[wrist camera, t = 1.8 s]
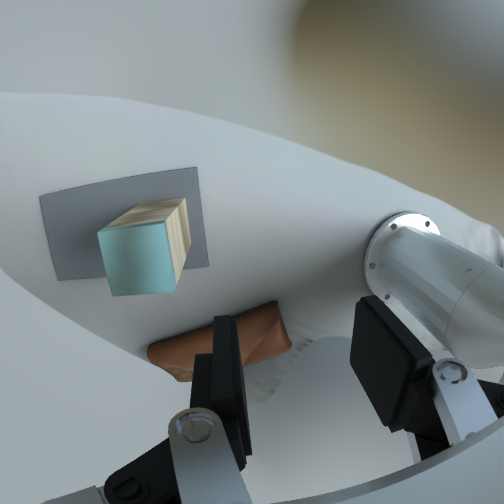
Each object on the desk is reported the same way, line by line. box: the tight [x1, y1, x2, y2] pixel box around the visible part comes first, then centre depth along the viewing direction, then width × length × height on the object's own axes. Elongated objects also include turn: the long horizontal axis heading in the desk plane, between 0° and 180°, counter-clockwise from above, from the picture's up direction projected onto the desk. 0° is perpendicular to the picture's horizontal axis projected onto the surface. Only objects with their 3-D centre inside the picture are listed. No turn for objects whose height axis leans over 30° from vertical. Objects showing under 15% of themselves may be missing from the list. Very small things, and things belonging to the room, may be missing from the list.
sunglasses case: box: [147, 301, 292, 382], centre depth 36 cm, size 18×7×7 cm
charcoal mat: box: [39, 167, 209, 281], centre depth 31 cm, size 20×11×1 cm, turn 94°
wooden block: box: [97, 197, 192, 296], centre depth 26 cm, size 5×5×12 cm
